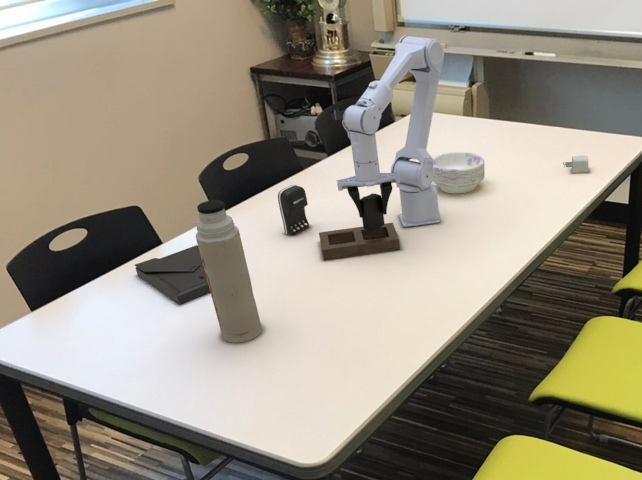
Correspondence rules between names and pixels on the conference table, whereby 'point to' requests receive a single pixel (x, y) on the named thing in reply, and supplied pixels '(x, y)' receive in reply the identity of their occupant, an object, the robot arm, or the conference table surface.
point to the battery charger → (293, 209)
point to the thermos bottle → (227, 273)
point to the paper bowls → (458, 171)
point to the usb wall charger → (578, 164)
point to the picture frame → (177, 275)
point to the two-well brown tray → (358, 241)
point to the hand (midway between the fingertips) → (372, 214)
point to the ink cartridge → (372, 212)
